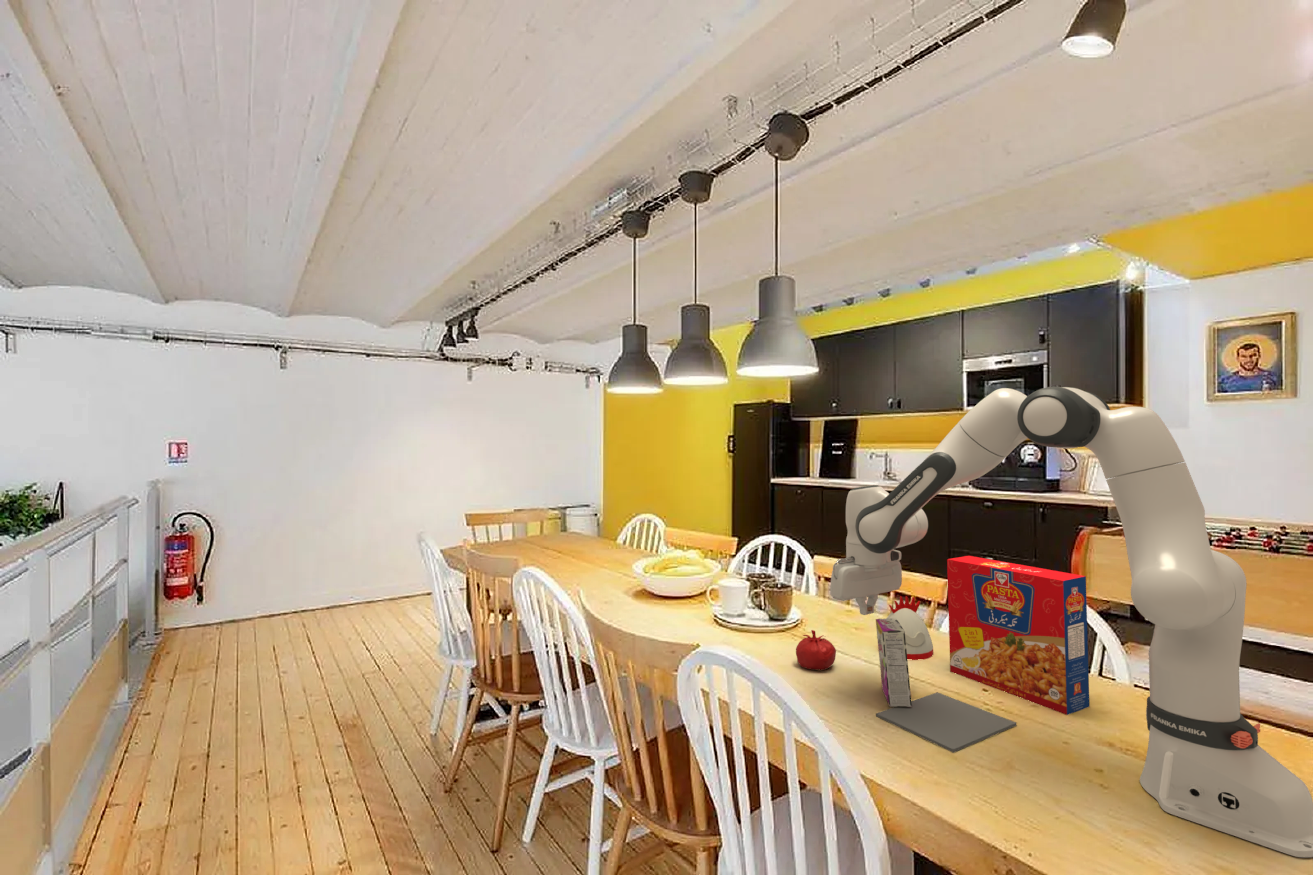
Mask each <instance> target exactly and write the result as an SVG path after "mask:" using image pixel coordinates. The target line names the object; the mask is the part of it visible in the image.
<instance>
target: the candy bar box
mask: <svg viewBox="0 0 1313 875" xmlns="http://www.w3.org/2000/svg"><path fill="white" fill-rule="evenodd" d="M875 628H876V635H877V636H876V639H877V648H878V659H879V668H880V677H881V678H880V679H881V689H882V692H883V694H884V696H885V698H886V701H887V704H888V706H889V708H893V707H912V703H911V701H912V694H911V683H910V682H911V681H910V673H909V662H908V661H909V660H907V650H906V641H905V631H904V629H903V628H902V626H901V625H900V623H899V622H898V620H897V619H886V618H875Z"/></svg>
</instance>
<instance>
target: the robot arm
mask: <svg viewBox="0 0 1313 875" xmlns="http://www.w3.org/2000/svg"><path fill="white" fill-rule="evenodd" d="M1026 440H1030V441H1031V442H1033V443H1035V444H1037V445H1040V446H1042V447H1047V448H1058V449H1064V450H1065V449H1067V450H1068V449H1077V448H1086V449H1088V450H1089V451H1091V452H1092V453H1093V454H1094V455H1095V457H1096V458H1097V461H1098V462H1099V465H1100V466H1101V469H1102V473H1103V475H1104V478H1105V481H1106V483H1107V486H1108V489H1109V492H1110V494H1111V497H1112V499H1113V503H1114V505H1115V508H1116V511H1117V513H1118V516H1119V519H1120V522H1121V526H1122V530H1123V534H1124V541H1125V547H1126V555H1127V560H1128V566H1129V571H1130V575H1131V585H1130V596H1131V600H1132V603H1133V605H1134V607H1135V608H1136V610H1137V612H1139V614H1140V615H1141V616H1142V617H1143V618H1144V619H1146V620H1147V621H1149V622H1150V623H1152V624H1153V625H1154V630H1153V634H1152V640H1151V643H1150V646H1149V650H1148V677H1149V678H1148V680H1149V681H1148V682H1149V684H1148V685H1149V696H1148V697H1147V698H1146V709H1145V713H1146V714H1145V715H1146V716H1145V717H1146V724H1147V725H1146V727H1147V730H1148V732H1149V734H1148V745H1147V752H1146V756H1145V757H1146V758H1145V762H1144V766H1143V768H1142V772H1141V774H1140V777H1139V782H1140V783H1139V784H1140V786H1142V787H1143V788H1142V789H1144V790H1145V791H1146V792H1147V793H1148V794H1149V795H1151V796H1152V797H1153V799H1155V800H1156V801H1157V802H1158V804H1159V806H1160V808H1161V809H1162V810H1163V811H1164V812H1166V813H1168V814H1171V815H1173V816H1176V817H1179V818H1182V819H1185V820H1188V821H1190V822H1193V823H1196V824H1199V825H1202V826H1205V827H1208V828H1210V829H1214V830H1216V831H1220V832H1222V833H1225V834H1228V835H1231V836H1235V837H1236V838H1240V839H1243V840H1246V841H1249V842H1251V843H1254V844H1256V845H1260V846H1263V847H1266V848H1269V849H1271V850H1274V851H1277V852H1281V853H1284V854H1287V855H1289V856H1293V857H1296V858H1313V798H1312V794H1311V792H1310V790H1309V788H1308V786H1307V785H1306V783H1305V782H1304V781H1303V780H1302V779H1301V778H1300V777H1298V776H1297V775H1296V774H1295V773H1293V771H1291V770H1290V769H1288V768H1287V767H1286V766H1284V765H1283V764H1282V763H1280V761H1278V760H1277V759H1276V758H1275V757H1273V756H1272V755H1271V754H1270V753H1269V752H1267V751H1266V750H1265V749H1263V748H1262V747H1261V746H1260V745H1259V733H1261V723H1256V724H1255V725H1253V724H1251V723H1250V722H1249V721H1248V720H1247V719H1246V718H1245V717H1244V716H1243V714H1241V700H1240V699H1241V691H1240V688H1241V687H1240V659H1241V651H1242V646H1243V645H1242V644H1243V637H1244V636H1243V635H1244V628H1245V627H1244V624H1245V613H1246V597H1247V577H1246V574H1245V572H1244V569H1243V568H1242V567H1241V565H1240V564H1239V563H1238V562H1237V561H1235V560H1234V559H1233V558H1232V557H1230V556H1229V555H1227V554H1225V553H1222V552H1220V551H1217V550H1214V549H1212V548H1211V546H1210V545H1211V544H1210V540H1209V539H1210V538H1209V534H1208V531H1207V524H1206V519H1205V518H1206V516H1205V515H1206V511H1205V507H1204V504H1203V502H1202V500H1201V497H1200V495H1199V492H1198V489H1197V487H1196V485H1195V481H1194V480H1193V478H1192V475H1191V473H1190V470H1189V469H1188V466H1187V463H1186V460H1185V459H1184V456H1183V454H1182V452H1181V449H1180V448H1179V446H1178V443H1177V442H1176V440H1175V438H1174V436H1173V435H1172V432H1170V430H1169V428H1168V427H1167V425H1166V424H1165V422H1164V421H1163V420H1162V418H1161V417H1160V415H1159V414H1158V413H1157V412H1156V411H1154V410H1152V409H1150V408H1148V407H1143V406H1125V407H1121V408H1117V409H1112V410H1111V408H1110V406H1109V405H1108V404H1107V402H1106V401H1105V400H1104V399H1102V398H1101V397H1100V396H1099V395H1097V394H1095V393H1093V392H1090V391H1084V390H1082V389H1079V388H1077V387H1068V386H1063V387H1062V386H1061V387H1060V386H1047V387H1043V388H1039V389H1037V390H1036V391H1032V393H1030V394H1029V395H1026V394H1025V393H1023V392H1021V391H1019V390H1018V389H1017V390H1016V389H1013V388H1007V387H1002V388H998V389H995V390H994V391H992V392H991V393H989V394H987V396H985V397H984V398H982V399H981V400H980V401H979V402H977V403H976V405H975V406H973V407H972V408H971V409H970V410H969V411H968V412H967V413H965V415H963V417H962V418H961V419H960V420H959V421H958V422H957V424H955V425H954V427H953V428H952V429H951V430H950V431H949V432H948V433H947V434H946V436H945V437H944V438H943V439H942V440H941V441H940V442H939V444H938V445H937V446H936V447H935V448H934V449H933V450H932V451H931V453H929V455H927V457H925V459H924V460H923V461H922V462H921V463H920V464H919V465H917V466H916V467H915V469H914V470H912V471H911V472H910V473H909V474H907V476H906V477H905V478H904V479H903V480H902V481H901V482H900V483H899V484H898V485H896V487H895V488H893V490H892V491H890V493H889V492H888V491H887V490H885V489H884V487H882V486H881V485H879V484H878V485H877V484H876V485H875V484H873V485H865V486H864V485H863V486H858V487H854V488H852V489H850V491H848V494H847V497H846V500H845V501H846V503H845V525H846V530H847V534H846V535H847V536H846V538H845V546H846V547H845V550H846V552H845V556H846V557H845V558H838V559H837V560H836V561H835V563H834V564H833V565H832V571H831V575H830V576H831V577H830V589H829V590H830V592H829V593H830V596H831V597H832V598H833V599H835V600H837V601H842V602H845V601H850V600H854V599H855V601H856V603H857V605H858V607H859V614H860V615H863V616H867V615H871V614H874V613H875V606H876V603H877V601H878V598H879V597H878V596H879V594H882V593H883V594H885V593H888V592H889V593H890V592H894V591H898V590H900V588H901V586H902V582H903V572H902V564H901V562H900V560H902V552H901V551H900V550H896V549H898V548H903V547H905V546H910V545H912V544H913V545H914V544H915V543H917V542H919V541H921V540H923V539H924V537H926V535H927V534H928V530H929V519H928V515H927V513H926V512H925V511H924V509H923V508H924V506H925V505H927V504H928V503H929V501H931V500H932V499H933V498H935V496H937V495H938V494H940V493H942V492H944V491H946V490H948V489H950V488H952V487H956V486H958V485H961V484H964V483H965V484H966V483H968V482H970V481H974V480H976V479H979V478H982V477H983V476H984V475H985V474H987V473H989V472H990V471H992V470H993V469H995V468H996V467H997V466H998V465H999V464H1001V463H1002V462H1003V461H1004V460H1005V459H1006V458H1007V457H1008V456H1009V455H1010V454H1011V453H1012V452H1013V451H1014V449H1015V448H1017V447H1018V446H1019V445H1020V444H1022V443H1023V442H1025V441H1026Z"/></svg>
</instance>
